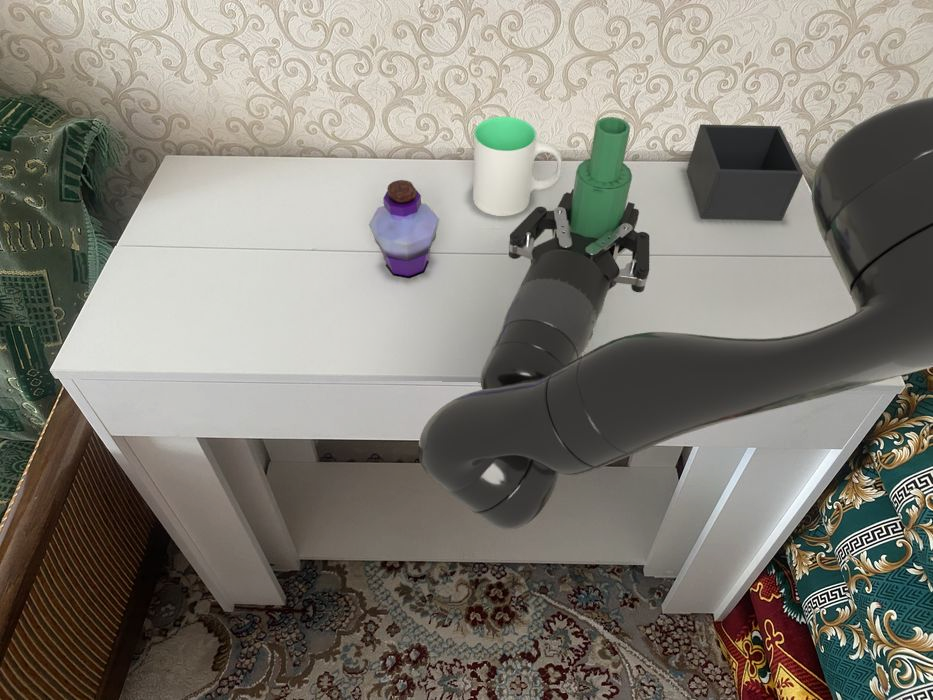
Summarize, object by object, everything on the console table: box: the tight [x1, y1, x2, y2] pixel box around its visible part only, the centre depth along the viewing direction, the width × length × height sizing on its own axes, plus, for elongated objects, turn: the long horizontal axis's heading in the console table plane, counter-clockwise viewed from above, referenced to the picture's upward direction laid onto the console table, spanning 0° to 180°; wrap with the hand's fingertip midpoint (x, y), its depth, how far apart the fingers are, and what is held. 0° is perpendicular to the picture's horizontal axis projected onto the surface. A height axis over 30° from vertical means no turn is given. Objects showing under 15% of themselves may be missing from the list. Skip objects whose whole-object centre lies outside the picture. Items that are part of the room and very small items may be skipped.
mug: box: [472, 116, 563, 217], centre depth 94 cm, size 12×8×10 cm, turn 91°
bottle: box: [569, 116, 633, 315], centre depth 70 cm, size 5×5×23 cm
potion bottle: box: [368, 179, 440, 280], centre depth 84 cm, size 9×9×12 cm
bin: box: [686, 123, 804, 222], centre depth 95 cm, size 11×11×8 cm
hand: (602, 203), depth 71 cm, fingers closed on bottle, 5 cm apart
